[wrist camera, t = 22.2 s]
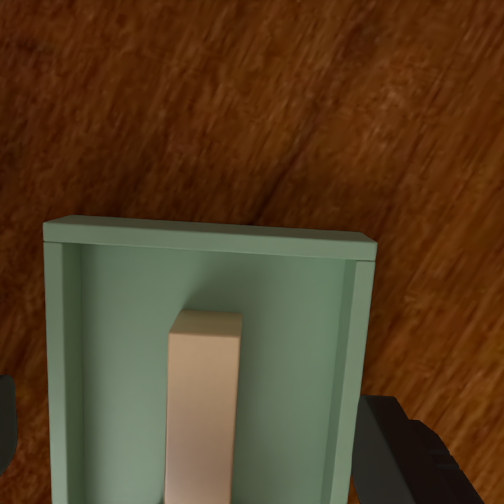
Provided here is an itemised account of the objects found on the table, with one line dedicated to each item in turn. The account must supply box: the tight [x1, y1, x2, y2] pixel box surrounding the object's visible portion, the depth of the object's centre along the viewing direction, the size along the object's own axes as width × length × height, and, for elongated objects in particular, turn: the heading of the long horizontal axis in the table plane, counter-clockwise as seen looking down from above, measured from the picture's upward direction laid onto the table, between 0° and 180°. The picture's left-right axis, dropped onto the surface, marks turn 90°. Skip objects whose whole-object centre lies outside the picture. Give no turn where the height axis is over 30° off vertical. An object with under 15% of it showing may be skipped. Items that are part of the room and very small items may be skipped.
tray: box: [43, 215, 377, 504], centre depth 16 cm, size 18×10×2 cm, turn 177°
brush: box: [164, 309, 243, 504], centre depth 15 cm, size 12×4×3 cm, turn 176°
